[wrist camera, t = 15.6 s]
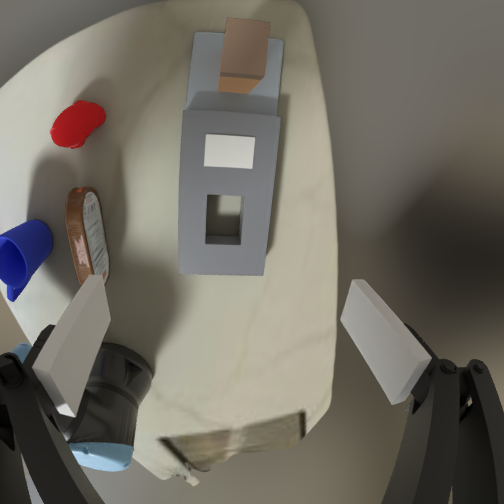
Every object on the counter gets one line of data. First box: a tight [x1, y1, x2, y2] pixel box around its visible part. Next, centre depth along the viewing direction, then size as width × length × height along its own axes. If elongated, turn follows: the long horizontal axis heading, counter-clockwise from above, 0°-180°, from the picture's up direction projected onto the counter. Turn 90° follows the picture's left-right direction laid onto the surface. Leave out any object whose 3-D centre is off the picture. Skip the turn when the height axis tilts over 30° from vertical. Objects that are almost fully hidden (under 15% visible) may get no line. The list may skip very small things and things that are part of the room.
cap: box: [50, 100, 106, 149], centre depth 28 cm, size 8×6×6 cm
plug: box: [218, 18, 270, 94], centre depth 25 cm, size 4×6×12 cm, turn 175°
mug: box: [0, 220, 53, 302], centre depth 32 cm, size 8×12×10 cm
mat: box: [186, 32, 284, 116], centre depth 31 cm, size 12×12×1 cm
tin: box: [65, 187, 109, 286], centre depth 34 cm, size 15×3×8 cm, turn 179°
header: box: [178, 110, 281, 276], centre depth 36 cm, size 12×22×4 cm, turn 175°
